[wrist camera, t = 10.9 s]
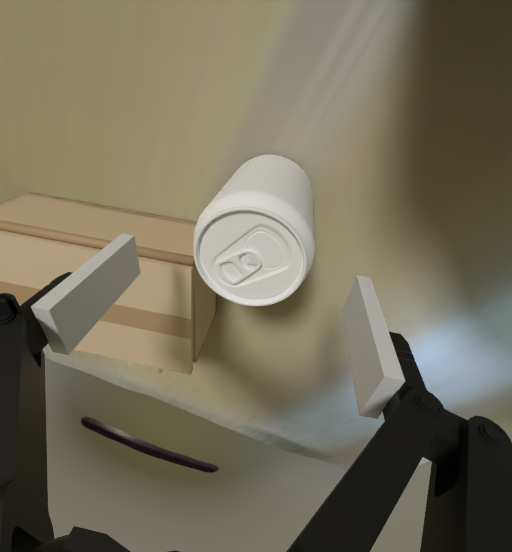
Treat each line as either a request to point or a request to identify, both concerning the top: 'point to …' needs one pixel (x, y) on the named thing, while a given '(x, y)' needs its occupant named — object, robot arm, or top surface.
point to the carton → (108, 227)
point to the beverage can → (258, 233)
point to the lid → (129, 306)
